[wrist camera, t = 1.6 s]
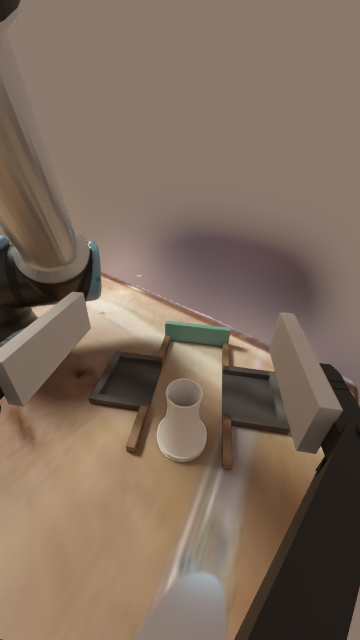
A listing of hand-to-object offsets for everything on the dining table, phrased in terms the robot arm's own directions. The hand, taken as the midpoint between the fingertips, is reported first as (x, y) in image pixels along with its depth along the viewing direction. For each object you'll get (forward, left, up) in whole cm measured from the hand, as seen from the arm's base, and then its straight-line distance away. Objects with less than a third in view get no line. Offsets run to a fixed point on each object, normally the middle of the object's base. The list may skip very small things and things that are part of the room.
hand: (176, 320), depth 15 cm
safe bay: (-28, +16, -26) cm, 42 cm away
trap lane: (-15, +9, -26) cm, 32 cm away
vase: (-7, +4, -26) cm, 28 cm away
